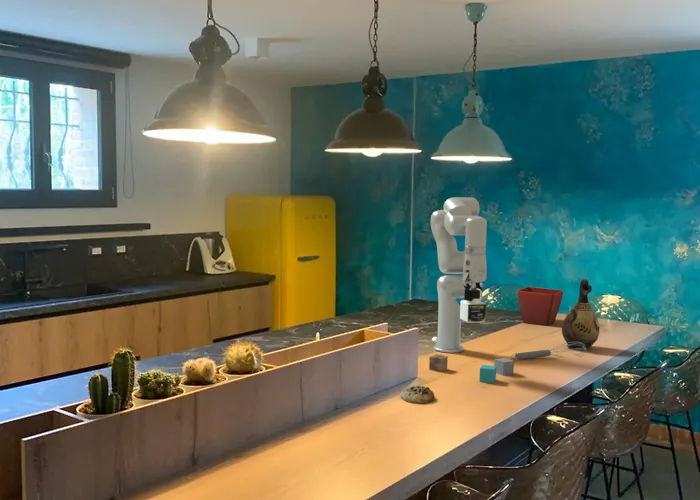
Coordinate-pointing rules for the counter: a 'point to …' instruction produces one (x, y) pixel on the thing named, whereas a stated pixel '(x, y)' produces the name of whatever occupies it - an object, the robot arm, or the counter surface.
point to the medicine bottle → (473, 308)
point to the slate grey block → (504, 366)
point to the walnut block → (438, 362)
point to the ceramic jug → (581, 322)
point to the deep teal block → (487, 374)
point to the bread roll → (417, 394)
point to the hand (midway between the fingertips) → (473, 299)
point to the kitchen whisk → (541, 353)
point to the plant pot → (539, 304)
